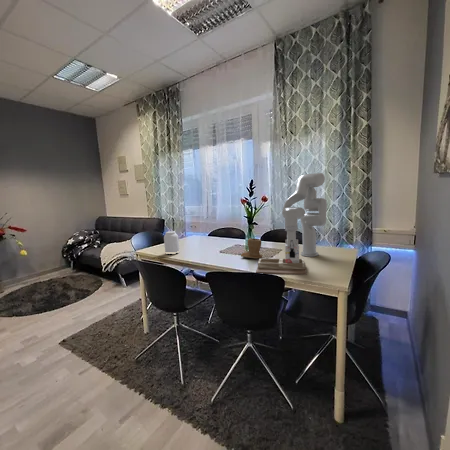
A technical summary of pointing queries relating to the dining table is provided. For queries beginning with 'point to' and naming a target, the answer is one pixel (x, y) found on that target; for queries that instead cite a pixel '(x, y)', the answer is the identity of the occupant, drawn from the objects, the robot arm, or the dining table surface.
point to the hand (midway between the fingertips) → (292, 255)
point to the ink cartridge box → (287, 253)
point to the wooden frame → (281, 267)
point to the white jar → (171, 242)
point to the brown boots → (253, 249)
